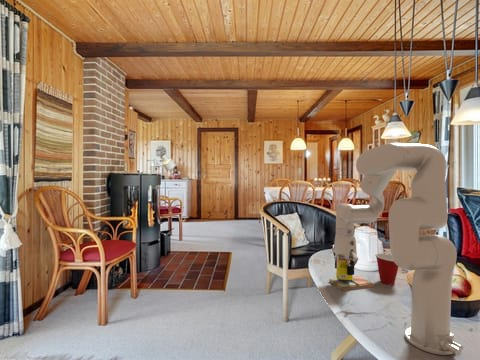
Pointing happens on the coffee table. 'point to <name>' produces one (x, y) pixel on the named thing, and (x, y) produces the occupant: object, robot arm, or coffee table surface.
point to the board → (352, 283)
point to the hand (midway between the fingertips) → (344, 271)
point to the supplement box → (342, 269)
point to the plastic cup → (386, 268)
